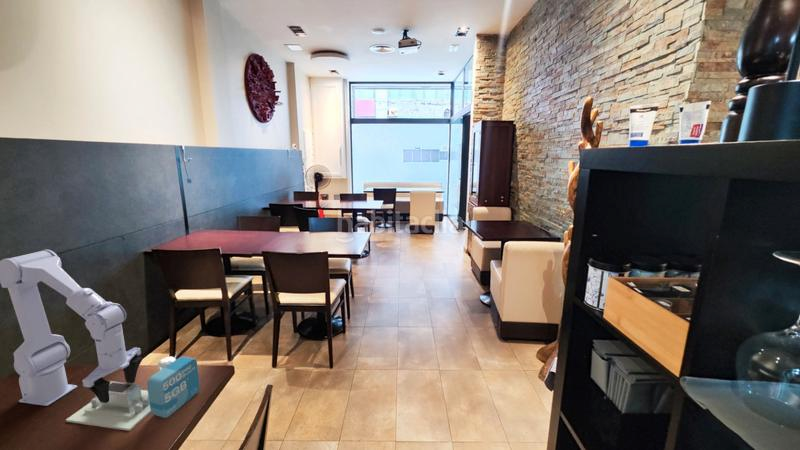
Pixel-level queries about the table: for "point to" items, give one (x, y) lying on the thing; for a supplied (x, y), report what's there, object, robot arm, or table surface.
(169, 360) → the milkshake
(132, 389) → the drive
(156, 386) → the data package
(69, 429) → the table surface
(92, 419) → the dock tray
